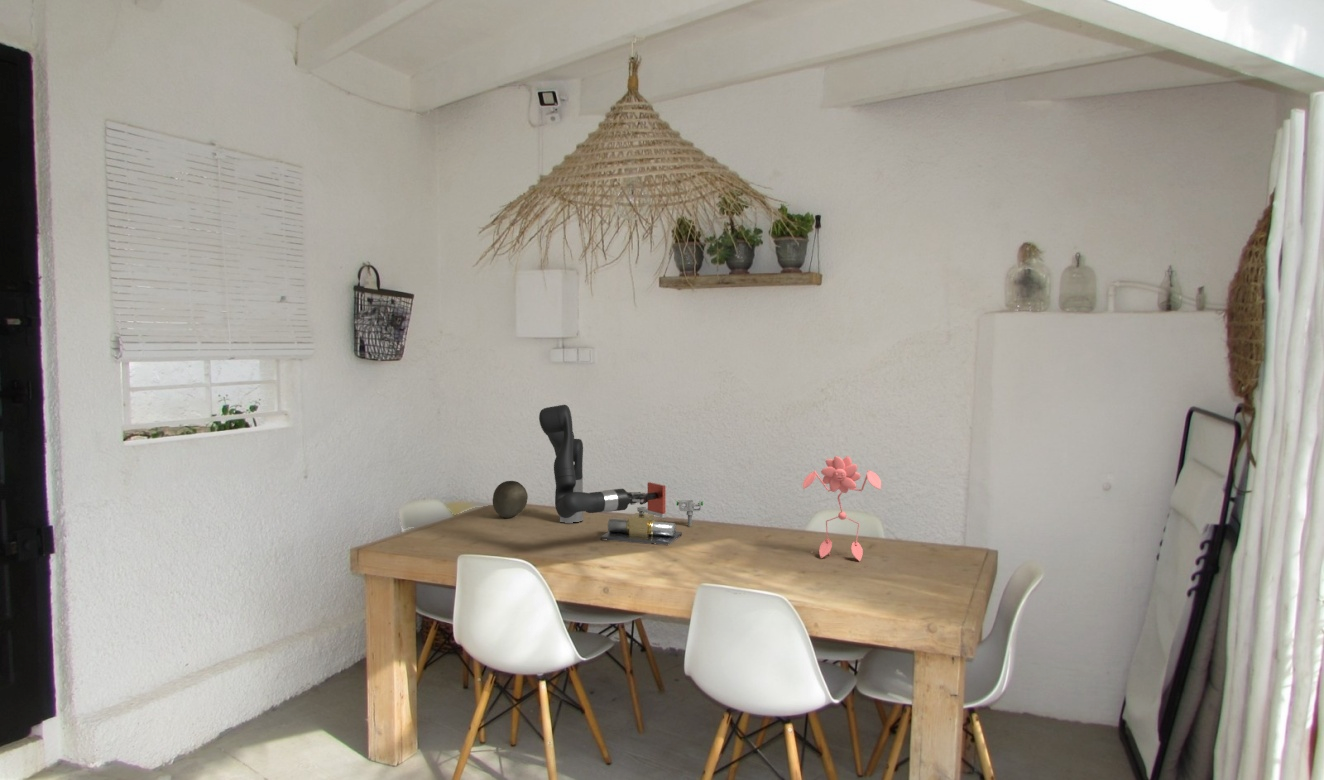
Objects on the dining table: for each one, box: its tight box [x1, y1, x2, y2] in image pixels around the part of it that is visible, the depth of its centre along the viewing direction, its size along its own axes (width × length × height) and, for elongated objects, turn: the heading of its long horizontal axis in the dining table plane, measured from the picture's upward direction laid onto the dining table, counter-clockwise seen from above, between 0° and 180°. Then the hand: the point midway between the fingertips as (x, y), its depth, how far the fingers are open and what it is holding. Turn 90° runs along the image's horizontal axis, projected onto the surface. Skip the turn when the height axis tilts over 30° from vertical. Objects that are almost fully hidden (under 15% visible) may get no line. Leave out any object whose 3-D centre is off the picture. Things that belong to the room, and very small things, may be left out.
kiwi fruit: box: [492, 480, 529, 519], centre depth 340 cm, size 14×14×15 cm
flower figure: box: [802, 455, 882, 562], centre depth 271 cm, size 15×26×35 cm, turn 68°
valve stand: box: [600, 512, 683, 546], centre depth 306 cm, size 26×16×10 cm, turn 71°
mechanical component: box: [676, 499, 704, 527], centre depth 324 cm, size 3×10×10 cm, turn 89°
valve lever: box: [636, 481, 667, 518], centre depth 300 cm, size 3×15×11 cm, turn 38°
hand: (655, 495), depth 297 cm, fingers closed
